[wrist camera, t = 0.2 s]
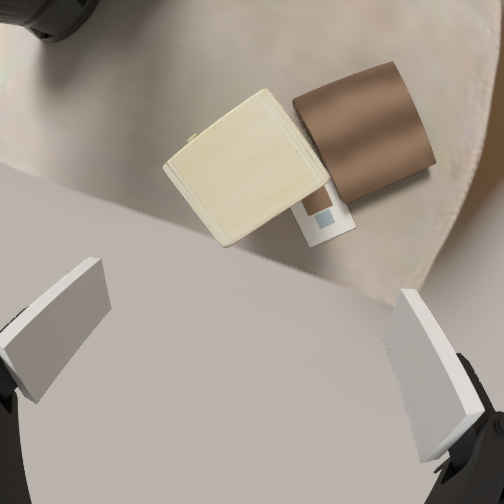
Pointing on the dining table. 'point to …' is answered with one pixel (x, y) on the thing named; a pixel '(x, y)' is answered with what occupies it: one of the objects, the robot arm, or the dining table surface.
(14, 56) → the dining table surface
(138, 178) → the dining table surface
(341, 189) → the walnut plinth
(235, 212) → the toy refrigerator
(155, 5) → the dining table surface
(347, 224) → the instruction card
